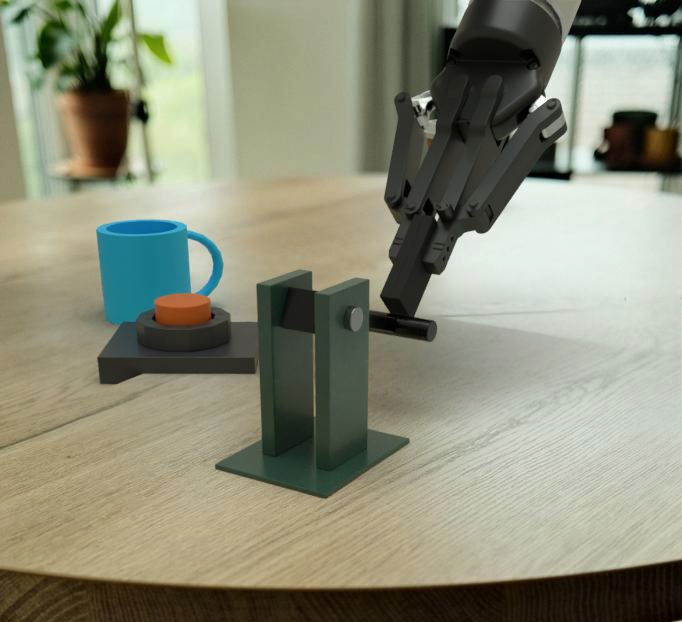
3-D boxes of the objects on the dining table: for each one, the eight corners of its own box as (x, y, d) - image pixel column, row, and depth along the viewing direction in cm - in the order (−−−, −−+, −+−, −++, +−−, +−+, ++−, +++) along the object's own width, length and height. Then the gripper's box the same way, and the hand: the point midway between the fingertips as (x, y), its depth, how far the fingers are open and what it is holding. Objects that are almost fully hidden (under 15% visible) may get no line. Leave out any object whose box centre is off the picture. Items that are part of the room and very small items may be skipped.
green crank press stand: (306, 431, 70) (304, 257, 64) (409, 455, 66) (415, 273, 61) (215, 482, 62) (204, 290, 57) (325, 513, 58) (324, 310, 53)
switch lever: (356, 336, 70) (362, 301, 70) (433, 350, 68) (440, 313, 67) (255, 323, 60) (261, 282, 60) (341, 338, 57) (348, 295, 57)
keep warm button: (151, 329, 79) (149, 307, 78) (160, 314, 83) (159, 293, 82) (208, 329, 79) (206, 307, 78) (214, 314, 83) (213, 293, 82)
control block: (100, 384, 78) (94, 334, 77) (125, 346, 87) (120, 300, 86) (255, 384, 78) (253, 334, 77) (264, 346, 87) (263, 300, 86)
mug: (123, 332, 91) (114, 239, 88) (93, 311, 97) (83, 224, 94) (243, 313, 97) (239, 226, 93) (207, 295, 103) (202, 212, 100)
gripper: (610, 69, 73) (499, 352, 68) (448, 65, 80) (335, 324, 74) (592, -15, 67) (469, 290, 62) (418, -12, 73) (292, 265, 68)
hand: (396, 308), depth 68 cm, fingers closed
